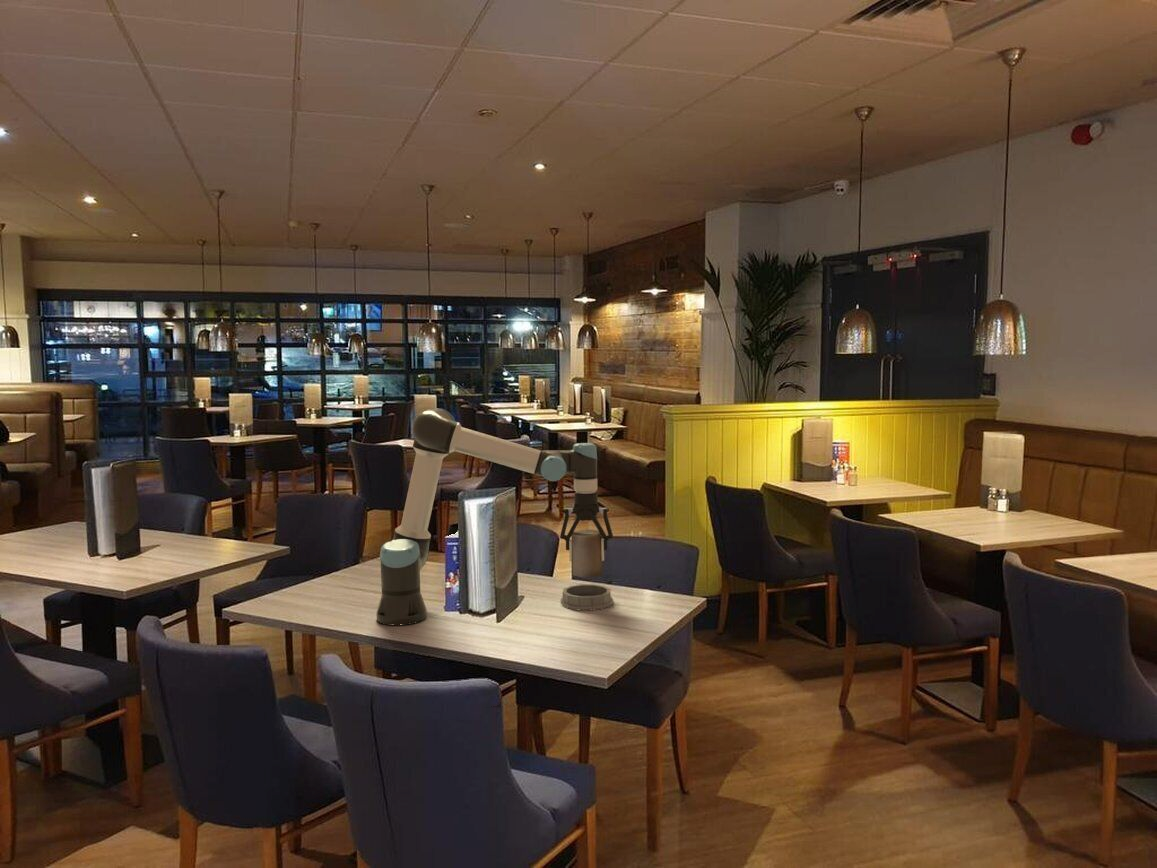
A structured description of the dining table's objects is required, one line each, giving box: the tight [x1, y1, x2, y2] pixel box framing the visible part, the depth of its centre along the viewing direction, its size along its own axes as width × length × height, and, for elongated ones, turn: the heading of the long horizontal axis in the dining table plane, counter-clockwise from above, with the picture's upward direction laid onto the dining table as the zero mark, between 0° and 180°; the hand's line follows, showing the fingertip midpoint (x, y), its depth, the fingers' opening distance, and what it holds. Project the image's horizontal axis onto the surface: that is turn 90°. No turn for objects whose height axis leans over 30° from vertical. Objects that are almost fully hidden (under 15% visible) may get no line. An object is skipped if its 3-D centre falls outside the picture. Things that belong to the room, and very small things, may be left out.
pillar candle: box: [571, 528, 603, 579], centre depth 272 cm, size 10×10×15 cm
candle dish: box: [560, 583, 614, 611], centre depth 273 cm, size 17×17×4 cm
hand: (586, 560), depth 272 cm, fingers closed on pillar candle, 10 cm apart
